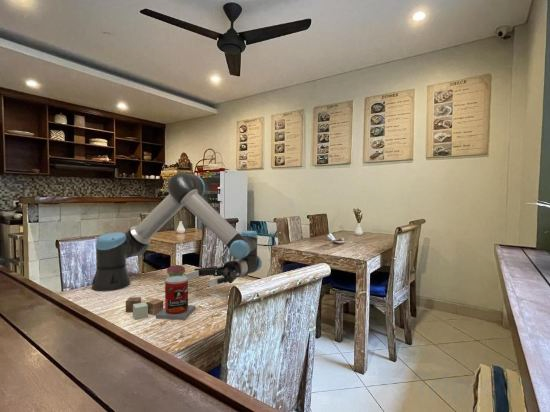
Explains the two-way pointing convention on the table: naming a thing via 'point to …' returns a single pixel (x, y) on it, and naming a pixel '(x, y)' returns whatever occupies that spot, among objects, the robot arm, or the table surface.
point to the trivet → (179, 316)
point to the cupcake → (175, 270)
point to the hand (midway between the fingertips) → (197, 280)
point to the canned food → (176, 294)
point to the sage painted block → (140, 310)
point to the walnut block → (132, 301)
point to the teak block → (154, 306)
